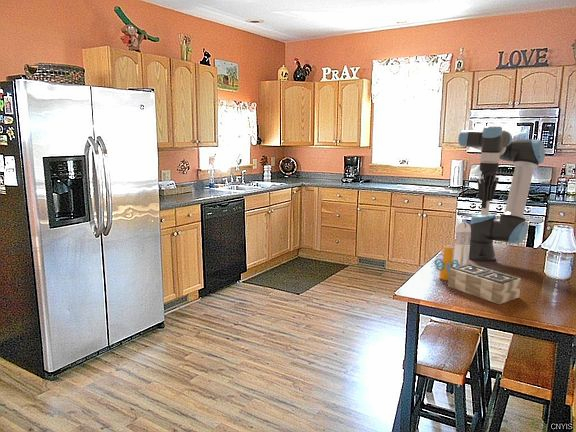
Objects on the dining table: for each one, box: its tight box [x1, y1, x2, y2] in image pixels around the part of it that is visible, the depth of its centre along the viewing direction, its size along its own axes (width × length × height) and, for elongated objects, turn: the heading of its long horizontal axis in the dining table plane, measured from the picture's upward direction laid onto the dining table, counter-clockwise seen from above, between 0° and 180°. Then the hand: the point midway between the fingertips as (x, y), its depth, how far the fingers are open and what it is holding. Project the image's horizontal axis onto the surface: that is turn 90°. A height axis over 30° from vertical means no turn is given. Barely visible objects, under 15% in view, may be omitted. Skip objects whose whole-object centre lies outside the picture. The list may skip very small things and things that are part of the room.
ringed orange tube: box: [434, 245, 460, 281], centre depth 206 cm, size 12×10×15 cm
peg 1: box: [466, 267, 477, 272], centre depth 195 cm, size 4×4×8 cm
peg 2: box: [492, 274, 503, 280], centre depth 185 cm, size 4×4×8 cm
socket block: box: [447, 263, 522, 305], centre depth 190 cm, size 14×24×8 cm, turn 33°
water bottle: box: [453, 218, 472, 267], centre depth 218 cm, size 7×7×25 cm
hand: (484, 215), depth 203 cm, fingers closed
